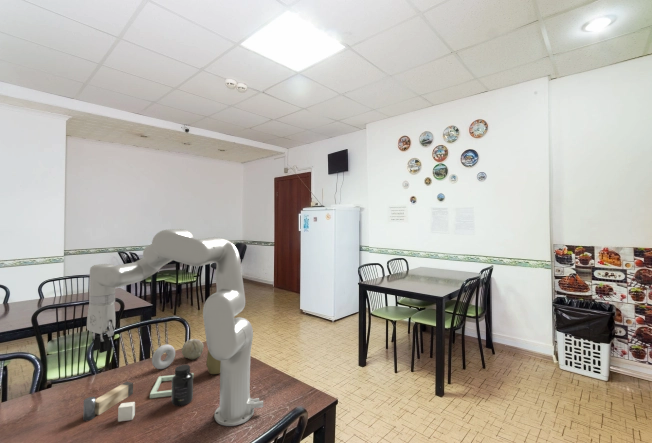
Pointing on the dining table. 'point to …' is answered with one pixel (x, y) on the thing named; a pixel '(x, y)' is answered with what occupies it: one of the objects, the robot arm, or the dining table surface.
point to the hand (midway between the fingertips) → (101, 349)
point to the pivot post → (89, 409)
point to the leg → (113, 397)
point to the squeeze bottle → (213, 364)
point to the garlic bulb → (192, 349)
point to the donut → (159, 352)
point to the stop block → (126, 411)
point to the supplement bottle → (182, 386)
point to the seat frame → (161, 378)
